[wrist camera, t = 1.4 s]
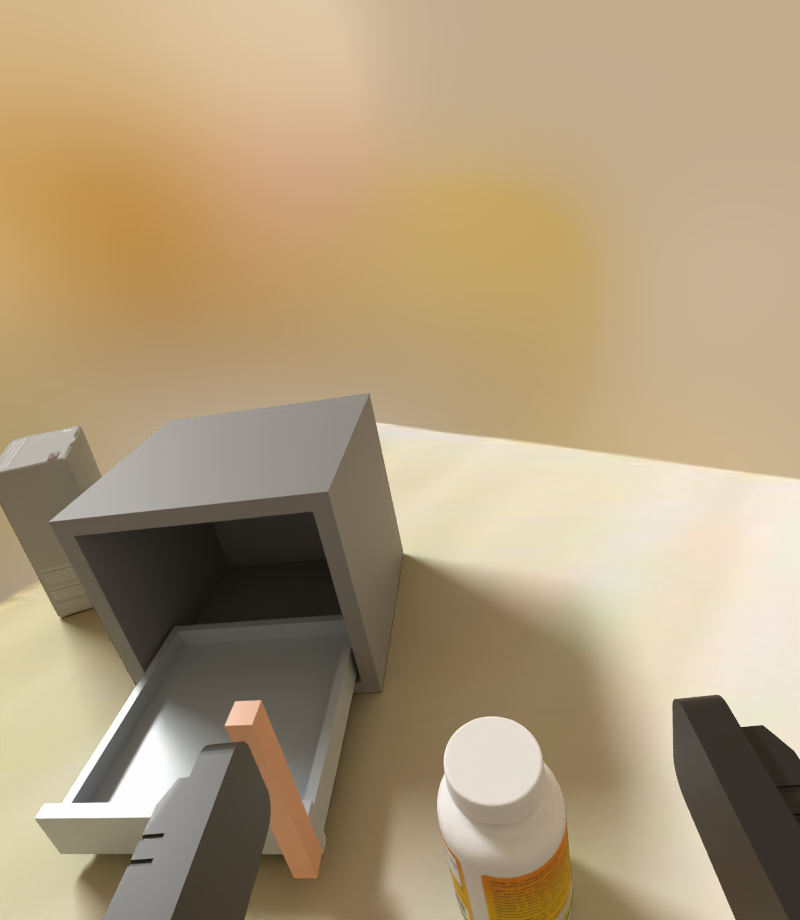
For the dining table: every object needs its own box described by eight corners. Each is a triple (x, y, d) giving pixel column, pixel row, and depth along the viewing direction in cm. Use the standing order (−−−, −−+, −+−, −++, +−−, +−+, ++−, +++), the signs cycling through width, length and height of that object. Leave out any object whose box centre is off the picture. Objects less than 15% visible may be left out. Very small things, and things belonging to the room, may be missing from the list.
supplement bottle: (591, 870, 27) (583, 733, 23) (543, 992, 23) (525, 856, 19) (490, 813, 30) (468, 683, 26) (435, 912, 26) (399, 780, 22)
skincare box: (74, 574, 60) (3, 440, 53) (143, 552, 62) (82, 420, 55) (56, 623, 53) (-30, 475, 46) (134, 597, 54) (63, 450, 47)
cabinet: (144, 702, 42) (48, 521, 35) (225, 568, 56) (168, 421, 49) (381, 692, 39) (328, 491, 32) (403, 552, 53) (369, 393, 46)
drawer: (46, 877, 30) (-65, 736, 25) (182, 648, 45) (127, 531, 40) (318, 880, 28) (252, 724, 23) (367, 636, 42) (334, 510, 37)
